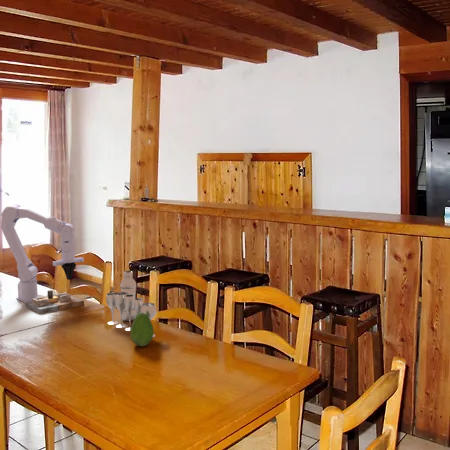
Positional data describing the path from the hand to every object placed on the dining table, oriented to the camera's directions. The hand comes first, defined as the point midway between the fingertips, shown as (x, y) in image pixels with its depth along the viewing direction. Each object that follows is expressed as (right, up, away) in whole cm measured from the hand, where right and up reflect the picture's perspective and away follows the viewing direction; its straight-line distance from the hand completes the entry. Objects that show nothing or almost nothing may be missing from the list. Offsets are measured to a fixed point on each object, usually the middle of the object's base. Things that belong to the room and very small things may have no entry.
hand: (69, 279), depth 253 cm
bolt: (-6, -9, -12) cm, 16 cm away
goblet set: (+35, -15, -42) cm, 57 cm away
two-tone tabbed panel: (-4, -11, -10) cm, 15 cm away
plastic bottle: (+33, -14, -31) cm, 47 cm away
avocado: (+43, -18, -60) cm, 75 cm away
